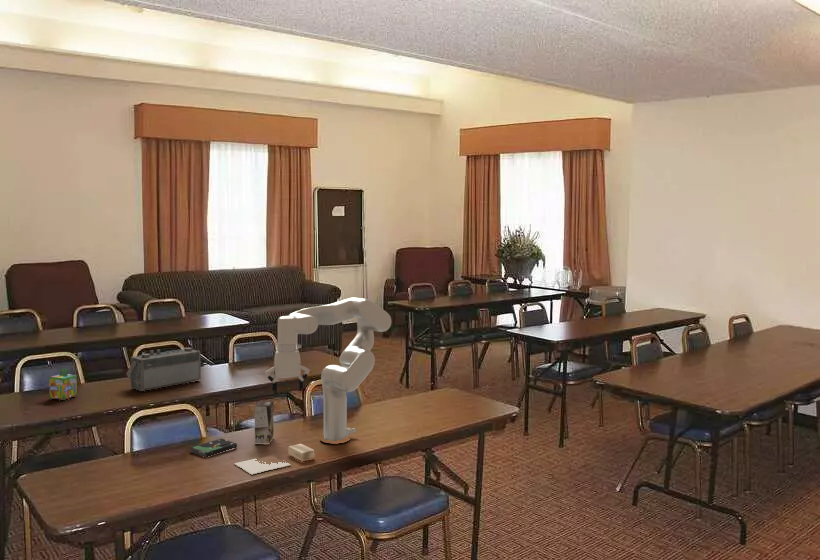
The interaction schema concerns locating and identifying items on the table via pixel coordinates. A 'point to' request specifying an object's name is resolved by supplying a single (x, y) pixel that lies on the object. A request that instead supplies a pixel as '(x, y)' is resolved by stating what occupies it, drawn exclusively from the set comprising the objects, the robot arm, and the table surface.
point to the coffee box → (264, 421)
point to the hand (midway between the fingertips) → (287, 391)
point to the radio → (164, 369)
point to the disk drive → (213, 447)
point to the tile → (301, 451)
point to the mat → (259, 466)
